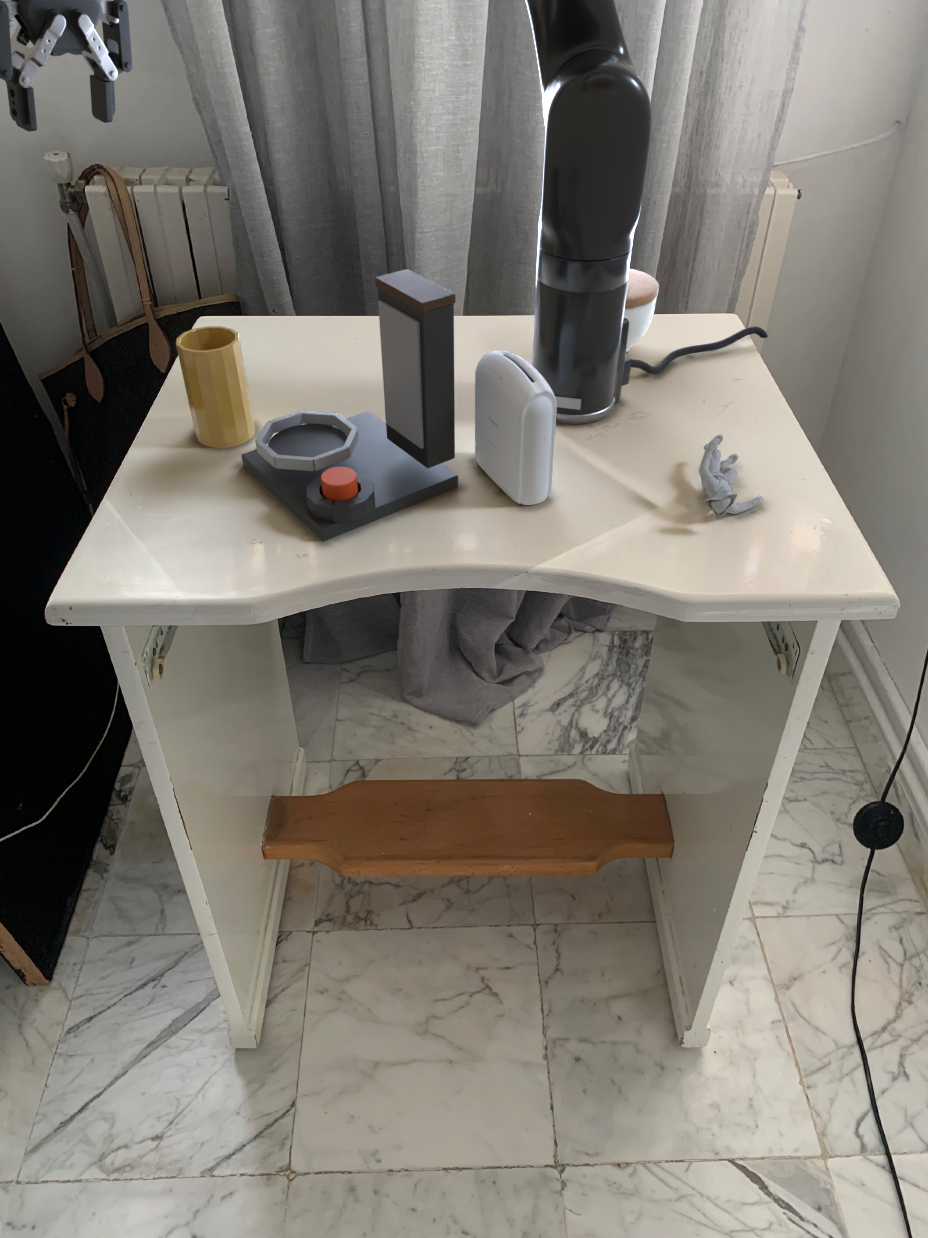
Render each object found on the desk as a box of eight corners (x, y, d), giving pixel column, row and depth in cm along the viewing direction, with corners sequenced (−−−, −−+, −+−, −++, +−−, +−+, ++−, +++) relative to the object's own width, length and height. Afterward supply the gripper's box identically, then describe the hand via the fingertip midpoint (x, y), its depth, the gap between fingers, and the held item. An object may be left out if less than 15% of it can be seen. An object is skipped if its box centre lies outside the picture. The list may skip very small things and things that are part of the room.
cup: (239, 414, 98) (222, 320, 91) (265, 436, 95) (249, 341, 88) (187, 430, 96) (166, 335, 89) (212, 454, 92) (191, 357, 85)
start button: (346, 478, 84) (344, 462, 82) (364, 494, 82) (363, 477, 80) (316, 490, 82) (314, 473, 81) (334, 506, 80) (332, 489, 79)
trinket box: (657, 363, 108) (669, 285, 101) (567, 363, 108) (574, 285, 101) (642, 326, 116) (652, 251, 110) (559, 327, 116) (564, 252, 109)
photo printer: (468, 460, 91) (469, 343, 83) (506, 450, 92) (510, 334, 84) (517, 511, 84) (522, 390, 76) (556, 500, 85) (566, 379, 77)
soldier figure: (756, 479, 90) (783, 511, 79) (716, 509, 92) (737, 545, 81) (709, 419, 88) (730, 444, 77) (669, 451, 90) (684, 481, 79)
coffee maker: (370, 397, 95) (359, 243, 84) (456, 458, 86) (455, 293, 75) (243, 440, 88) (214, 278, 78) (321, 510, 79) (300, 338, 69)
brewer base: (370, 422, 97) (368, 396, 95) (461, 489, 87) (461, 462, 85) (243, 466, 90) (238, 439, 88) (326, 545, 80) (323, 517, 78)
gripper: (2, -78, 69) (26, 146, 80) (148, -69, 79) (152, 130, 90) (-60, -104, 72) (-28, 117, 82) (89, -93, 81) (100, 104, 92)
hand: (66, 124), depth 86 cm, fingers open, 8 cm apart
